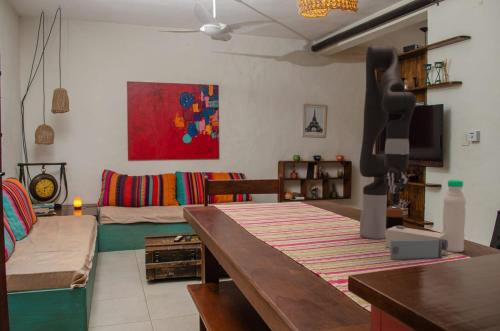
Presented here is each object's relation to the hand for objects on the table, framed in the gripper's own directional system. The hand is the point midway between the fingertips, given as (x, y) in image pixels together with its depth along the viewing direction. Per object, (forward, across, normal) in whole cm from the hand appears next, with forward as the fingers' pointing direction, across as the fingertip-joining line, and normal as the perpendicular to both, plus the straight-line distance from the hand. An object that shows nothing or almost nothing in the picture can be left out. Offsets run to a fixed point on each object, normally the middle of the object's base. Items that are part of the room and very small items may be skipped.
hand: (395, 204), depth 134 cm
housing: (+17, -6, +11) cm, 21 cm away
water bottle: (+17, -4, +25) cm, 31 cm away
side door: (+17, +5, +6) cm, 19 cm away
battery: (+17, -40, +22) cm, 49 cm away
